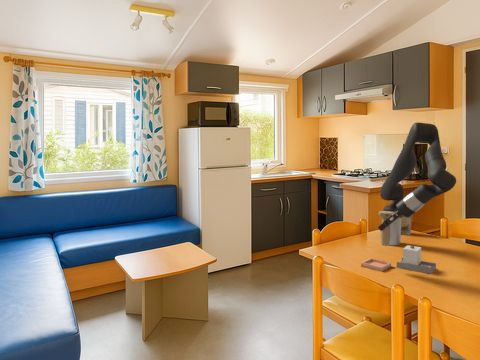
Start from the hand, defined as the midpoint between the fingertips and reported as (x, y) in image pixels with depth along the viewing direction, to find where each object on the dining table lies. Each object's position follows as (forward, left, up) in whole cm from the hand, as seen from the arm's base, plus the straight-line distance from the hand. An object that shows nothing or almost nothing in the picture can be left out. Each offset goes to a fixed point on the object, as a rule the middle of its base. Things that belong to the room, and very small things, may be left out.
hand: (381, 228), depth 173 cm
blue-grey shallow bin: (+12, +10, -18) cm, 24 cm away
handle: (+2, 0, -8) cm, 8 cm away
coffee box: (-19, +66, -19) cm, 71 cm away
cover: (+10, +10, -16) cm, 22 cm away
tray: (-2, 0, -18) cm, 18 cm away
